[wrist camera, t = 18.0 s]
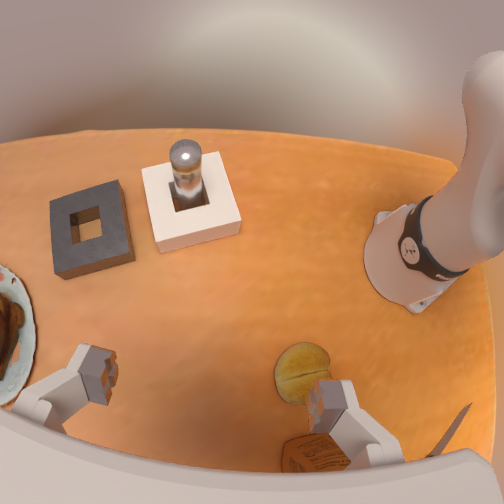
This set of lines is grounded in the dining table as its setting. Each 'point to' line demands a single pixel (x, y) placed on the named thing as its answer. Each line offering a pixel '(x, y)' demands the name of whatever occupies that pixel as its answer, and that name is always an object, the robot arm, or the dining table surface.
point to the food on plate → (15, 336)
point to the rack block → (195, 219)
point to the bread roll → (300, 371)
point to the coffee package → (313, 455)
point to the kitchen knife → (449, 433)
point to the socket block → (97, 249)
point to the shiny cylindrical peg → (187, 173)
